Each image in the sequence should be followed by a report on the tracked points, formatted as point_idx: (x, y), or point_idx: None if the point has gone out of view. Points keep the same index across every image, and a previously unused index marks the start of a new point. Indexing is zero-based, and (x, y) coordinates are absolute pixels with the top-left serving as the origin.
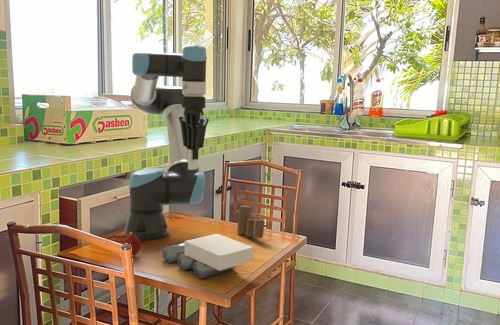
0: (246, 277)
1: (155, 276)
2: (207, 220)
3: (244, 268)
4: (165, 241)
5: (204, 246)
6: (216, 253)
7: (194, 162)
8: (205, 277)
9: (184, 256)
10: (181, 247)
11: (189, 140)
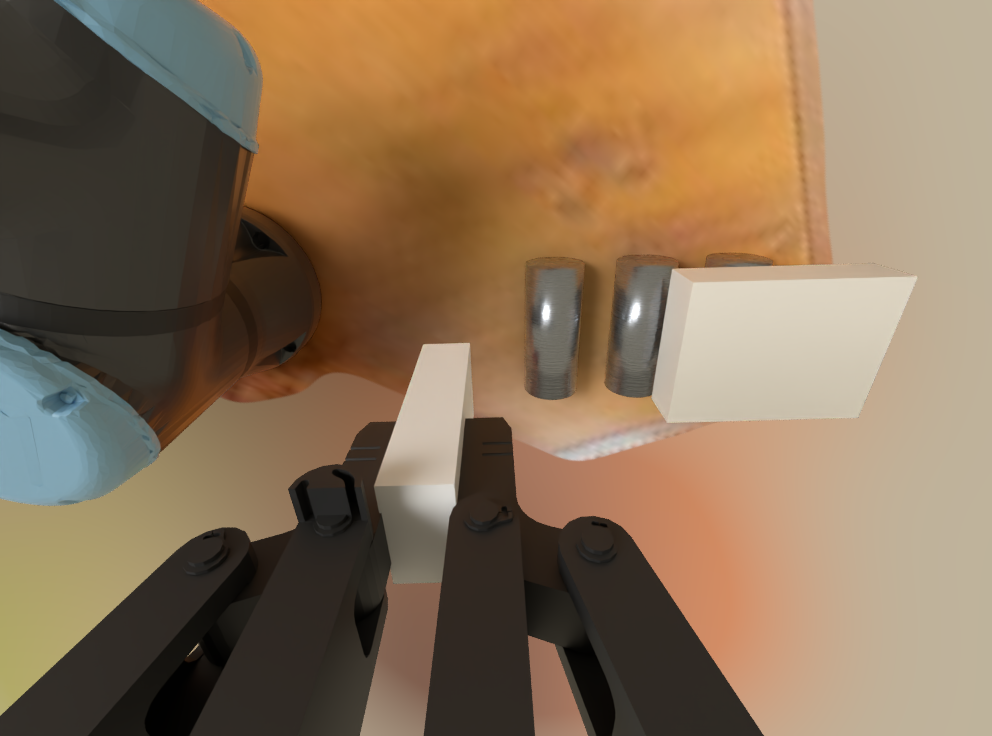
0: (811, 261)
1: (610, 441)
2: None
3: (762, 214)
4: (358, 275)
5: (759, 404)
6: (835, 412)
7: (467, 414)
8: None
9: (649, 395)
10: (572, 356)
11: (352, 733)
